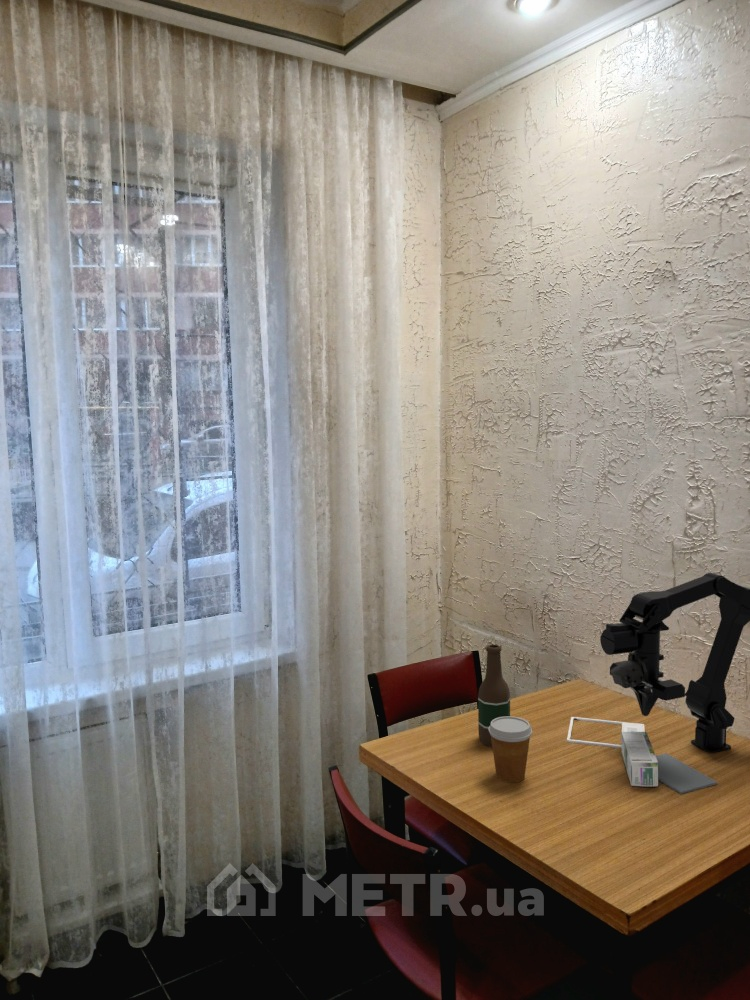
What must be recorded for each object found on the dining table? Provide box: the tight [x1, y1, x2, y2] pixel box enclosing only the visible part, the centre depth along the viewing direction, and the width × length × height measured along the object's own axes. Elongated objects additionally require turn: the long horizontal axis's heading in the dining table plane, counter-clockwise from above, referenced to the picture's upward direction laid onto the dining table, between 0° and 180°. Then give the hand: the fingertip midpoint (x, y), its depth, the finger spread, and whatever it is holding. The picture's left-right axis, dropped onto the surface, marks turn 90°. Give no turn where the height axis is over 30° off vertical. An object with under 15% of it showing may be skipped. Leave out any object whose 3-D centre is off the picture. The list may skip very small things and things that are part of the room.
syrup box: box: [620, 731, 659, 787], centre depth 167 cm, size 6×6×14 cm
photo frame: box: [566, 716, 646, 749], centre depth 187 cm, size 15×1×18 cm
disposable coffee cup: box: [489, 715, 533, 783], centre depth 166 cm, size 10×10×12 cm
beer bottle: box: [477, 644, 511, 747], centre depth 184 cm, size 8×8×24 cm
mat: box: [655, 752, 718, 795], centre depth 166 cm, size 10×15×1 cm, turn 22°
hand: (645, 715), depth 173 cm, fingers closed
